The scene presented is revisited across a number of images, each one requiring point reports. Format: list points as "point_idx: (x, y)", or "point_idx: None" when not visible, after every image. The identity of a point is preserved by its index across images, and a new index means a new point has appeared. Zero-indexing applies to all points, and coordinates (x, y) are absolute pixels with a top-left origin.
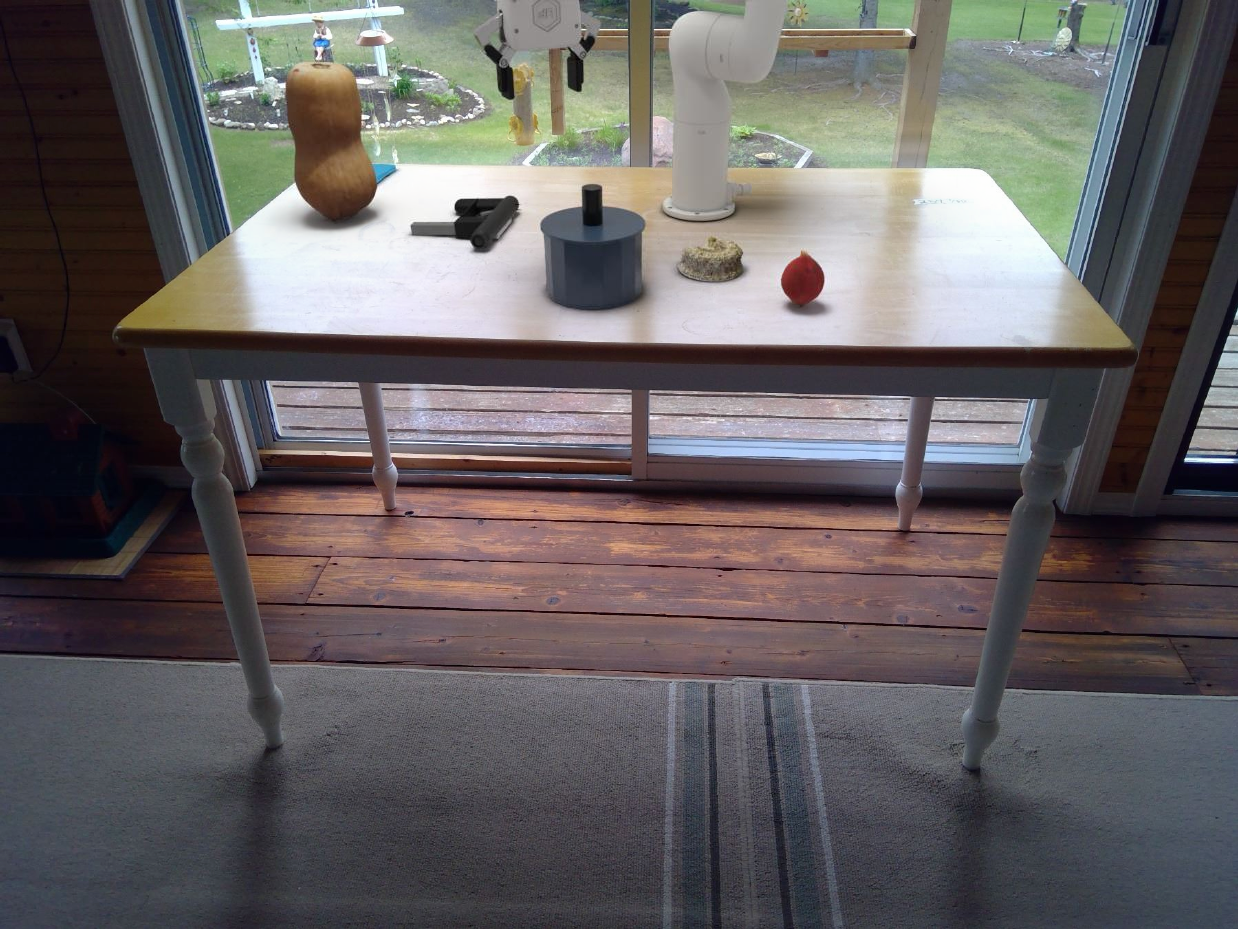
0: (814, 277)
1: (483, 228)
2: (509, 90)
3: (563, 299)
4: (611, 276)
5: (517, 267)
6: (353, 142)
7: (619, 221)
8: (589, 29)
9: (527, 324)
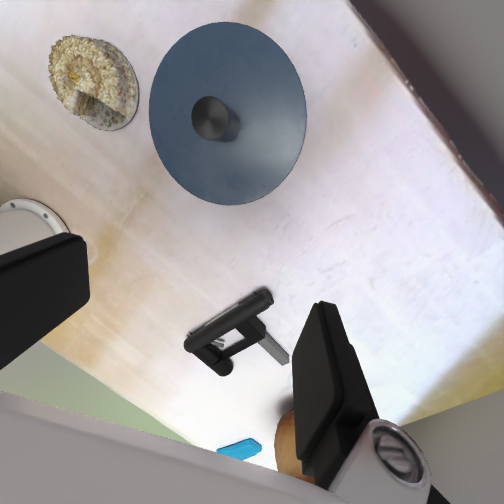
0: None
1: (257, 306)
2: (341, 322)
3: None
4: None
5: (265, 239)
6: (302, 477)
7: (189, 100)
8: None
9: (357, 104)
